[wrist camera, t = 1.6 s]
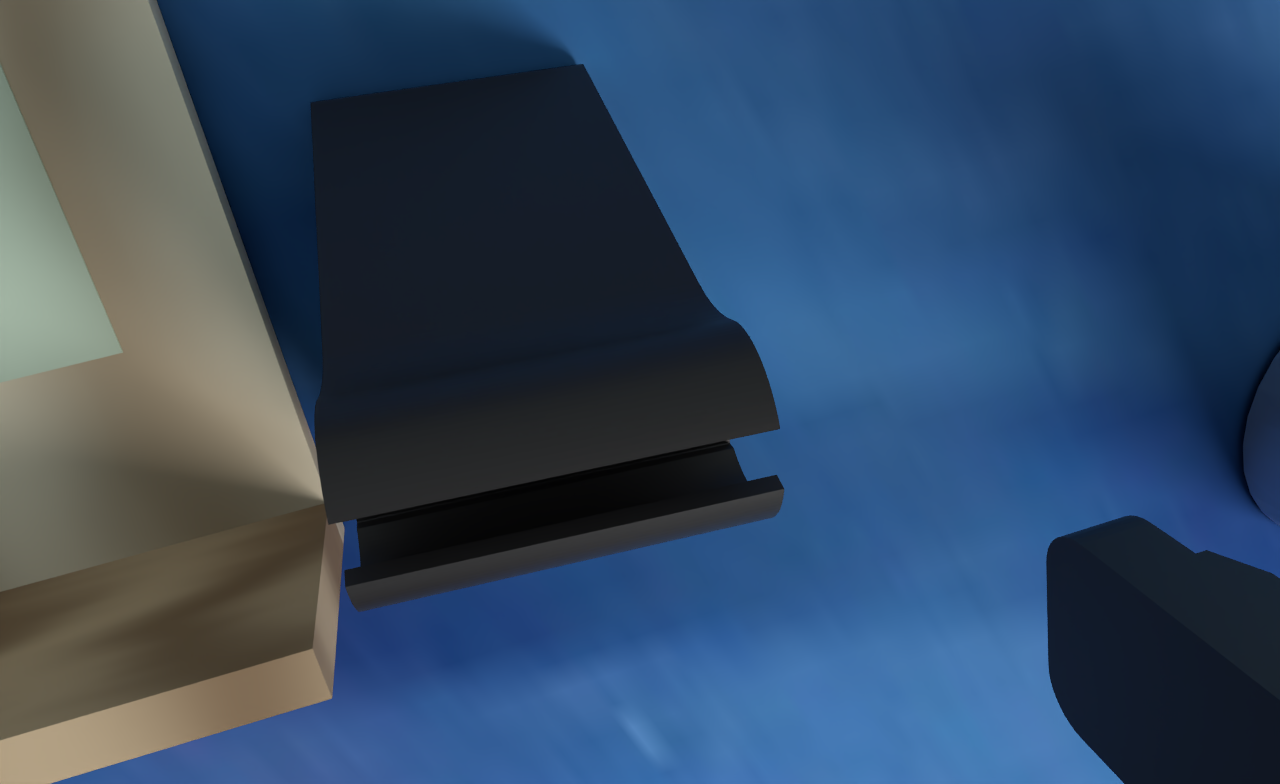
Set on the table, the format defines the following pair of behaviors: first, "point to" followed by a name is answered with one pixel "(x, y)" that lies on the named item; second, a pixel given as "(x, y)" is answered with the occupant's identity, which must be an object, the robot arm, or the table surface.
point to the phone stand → (514, 342)
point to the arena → (139, 419)
